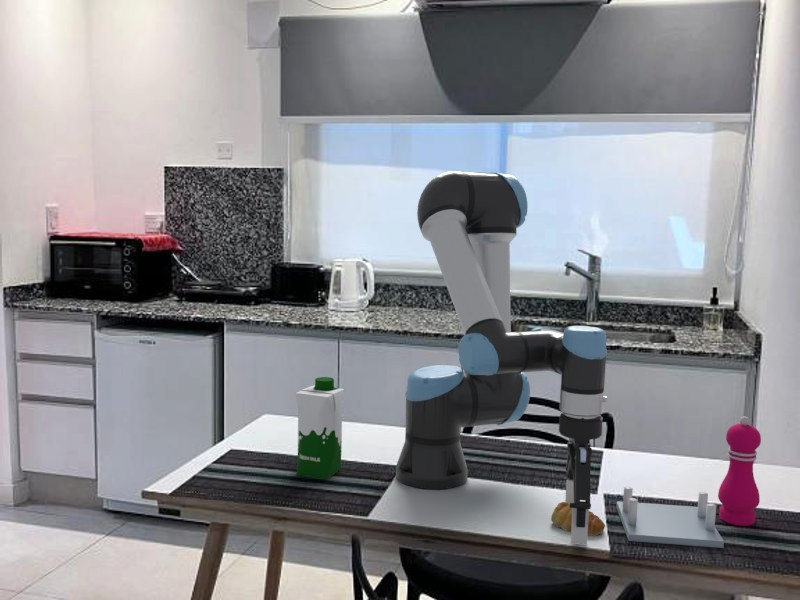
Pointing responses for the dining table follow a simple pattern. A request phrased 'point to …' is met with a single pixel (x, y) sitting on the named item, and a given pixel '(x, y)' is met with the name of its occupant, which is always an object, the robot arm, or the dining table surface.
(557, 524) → the pastry
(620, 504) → the tray
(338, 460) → the milk carton
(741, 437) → the pepper mill
